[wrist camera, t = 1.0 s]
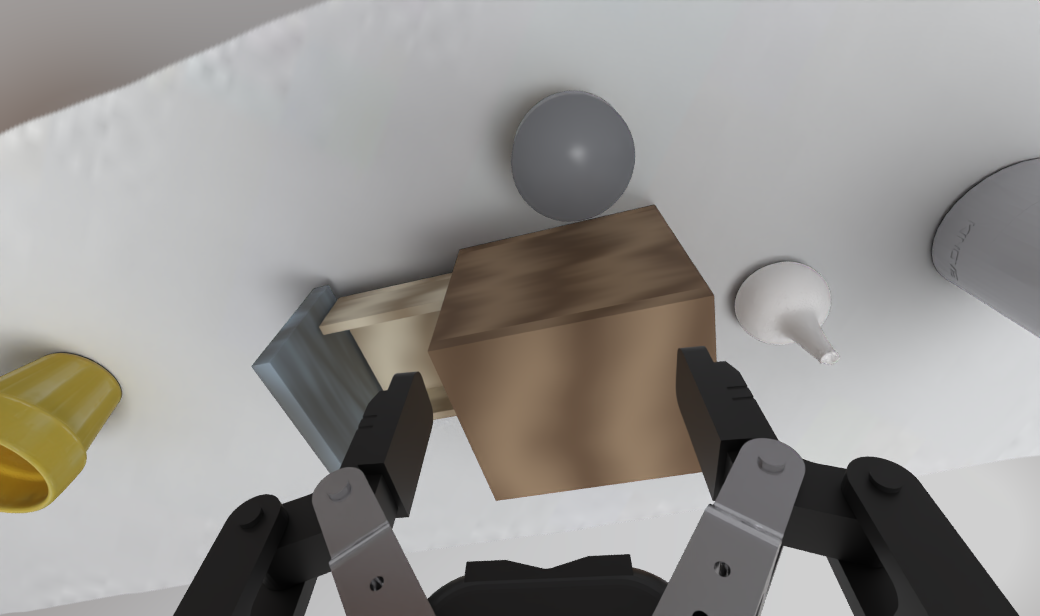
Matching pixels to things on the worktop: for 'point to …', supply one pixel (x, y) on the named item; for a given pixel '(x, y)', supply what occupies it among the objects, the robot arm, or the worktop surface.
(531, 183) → the disc
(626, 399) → the housing
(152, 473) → the worktop surface
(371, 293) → the drawer
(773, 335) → the garlic bulb
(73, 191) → the worktop surface
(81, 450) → the plant pot
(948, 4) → the worktop surface
